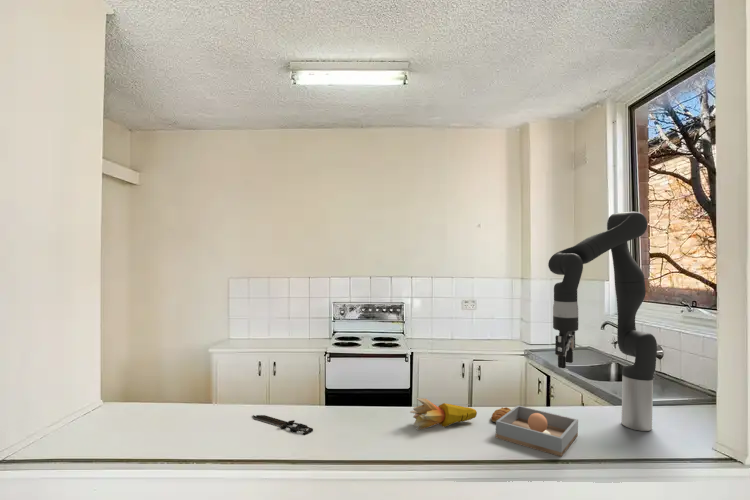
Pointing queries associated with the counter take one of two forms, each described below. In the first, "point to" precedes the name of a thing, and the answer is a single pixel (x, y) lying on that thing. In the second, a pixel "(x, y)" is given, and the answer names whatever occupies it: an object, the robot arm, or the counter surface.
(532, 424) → the brown egg
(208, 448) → the counter surface
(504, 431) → the pen walls
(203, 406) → the counter surface
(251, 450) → the counter surface
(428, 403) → the torch
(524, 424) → the pen board
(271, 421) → the knife
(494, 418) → the pastry
